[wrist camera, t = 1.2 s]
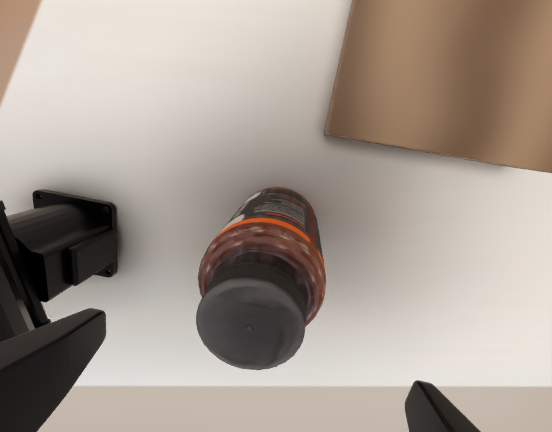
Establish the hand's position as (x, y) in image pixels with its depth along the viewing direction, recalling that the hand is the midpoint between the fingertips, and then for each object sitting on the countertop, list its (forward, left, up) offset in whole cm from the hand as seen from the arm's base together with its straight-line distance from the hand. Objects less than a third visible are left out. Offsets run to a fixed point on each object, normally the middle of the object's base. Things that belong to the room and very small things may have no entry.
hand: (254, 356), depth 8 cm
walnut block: (+8, +13, -13) cm, 20 cm away
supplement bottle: (0, 0, -13) cm, 13 cm away
